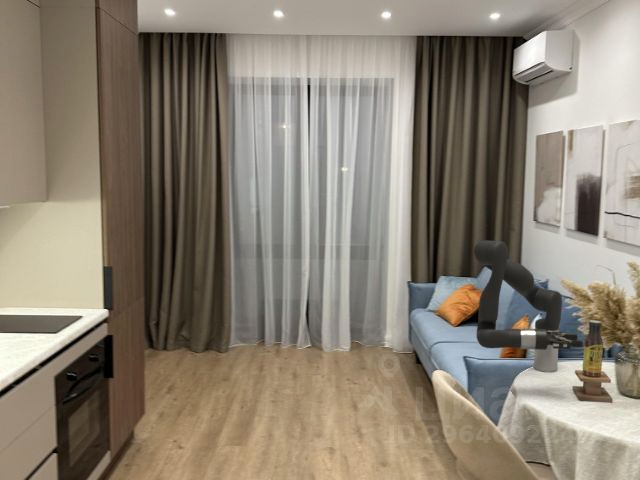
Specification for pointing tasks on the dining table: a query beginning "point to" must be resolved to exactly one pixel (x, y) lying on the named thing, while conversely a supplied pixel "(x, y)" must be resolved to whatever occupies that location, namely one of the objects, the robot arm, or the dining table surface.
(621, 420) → the dining table surface
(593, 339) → the sauce bottle
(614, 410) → the dining table surface
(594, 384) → the walnut pedestal
